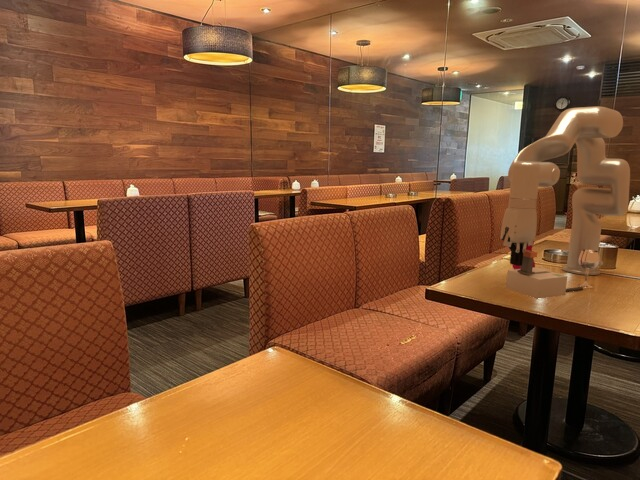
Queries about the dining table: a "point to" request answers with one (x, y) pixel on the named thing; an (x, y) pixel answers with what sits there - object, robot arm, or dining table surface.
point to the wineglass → (588, 263)
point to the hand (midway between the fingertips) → (515, 264)
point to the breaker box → (538, 283)
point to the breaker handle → (527, 262)
